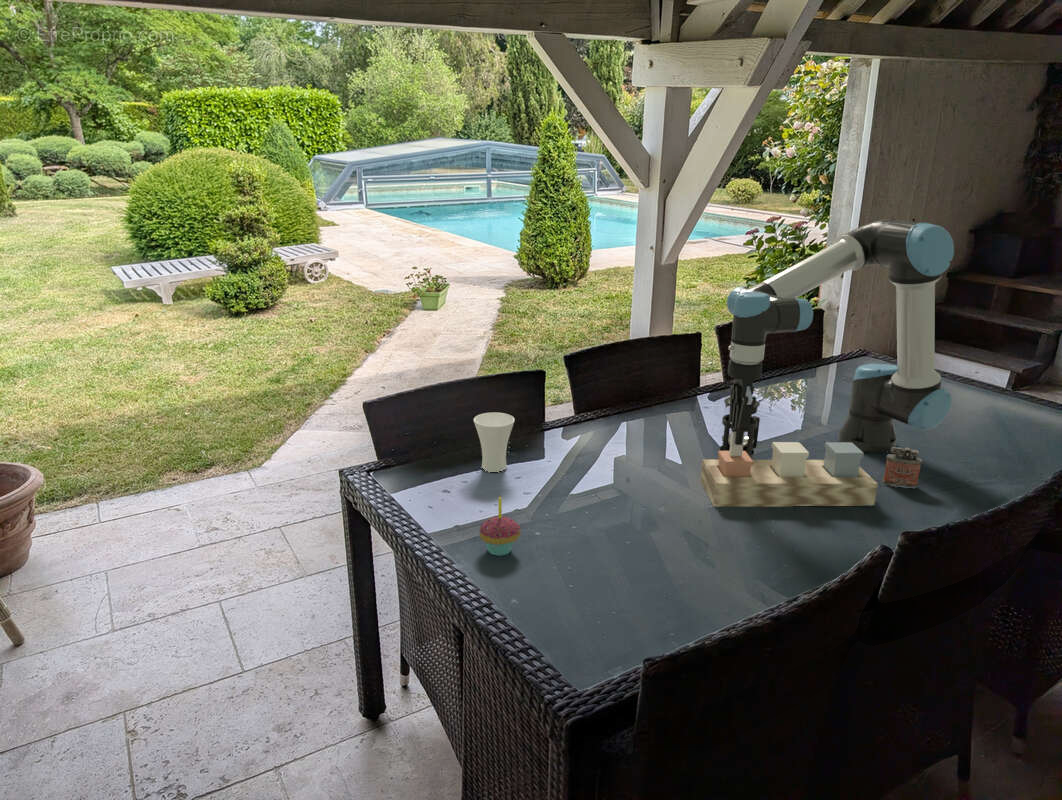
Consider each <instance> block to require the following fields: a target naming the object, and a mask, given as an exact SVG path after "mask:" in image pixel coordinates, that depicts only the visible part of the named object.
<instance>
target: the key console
mask: <svg viewBox="0 0 1062 800" xmlns="http://www.w3.org/2000/svg"><path fill="white" fill-rule="evenodd" d="M752 461H753V466H751V471H750V477H723V475H722V474H721V472H720V470H719V469H718V464H719V460H718V459H702V460H701V469H700V471H701V472H700V479H699V480H700V481H699V482H700V484H701V485H702V487H703V489H704V491H705V493H706V494H707V496H708V498H709V500H710V501H711V503H712V505H713V507H715V508H717V507H718V508H719V507H720V508H721V507H724V508H726V507H730V508H733V507H734V508H736V507H737V508H739V507H740V508H741V507H743V508H745V507H746V508H749V507H750V508H751V507H752V508H753V507H754V508H755V507H756V508H757V507H758V508H760V507H762V508H763V507H767V508H771V507H772V508H774V507H775V508H776V507H777V508H780V507H781V508H784V507H785V508H789V507H791V508H794V507H793V506H860V505H874V506H875V503H876V497H877V490H878V486H879V485H878V484H879V483H878V482H877V481H876V480H874V479H873V477H871V475H869V474H868V473H867V472H866V471H865V470H864V469H863V468H862V467H861V466H860V467H859V473H858V477H832V476H831V475H830V474H829V473H828V471H827V470H826V469H825V468H824V467H823V465H824V459H806V466H805V473H804V477H779V476H778V475H777V474H776V473H775V471H774V470H773V469H772V468H771V462H772V459H753V460H752Z"/></svg>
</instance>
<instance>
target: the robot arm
mask: <svg viewBox="0 0 1062 800" xmlns="http://www.w3.org/2000/svg"><path fill="white" fill-rule="evenodd" d="M954 245H955V244H954V240H953V238H952V236H951V234H950V232H949V231H948V230H946V229H945V228H944V227H943V226H942V225H941V226H940V225H937V224H932V223H930V222H921V221H920V222H918V221H908V220H900V219H895V218H885V219H880V220H875V221H872V222H869V223H866V224H864V225H860V226H858V227H857V228H854V229H851V230H849V231H848V232H846V233H844V234H842V235H840V236H839V237H838V238H837V239H836V241H835V243H834V244H832V245H830V246H828V247H826V248H824V249H822V250H819V251H818V252H817V253H814V254H813V255H811V256H809V257H807V258H805V259H803V260H801V261H800V262H798V263H795V264H793V265H791V266H790V267H788V268H786V269H784V270H783V271H780V272H779V273H777V274H775V275H773V276H771V277H769V278H766V279H765V280H763V281H762V282H759V283H758V284H756V285H755V284H754V286H751V287H749V286H737V287H735V288H733V289H732V290H731V291H730V293H729V294H728V296H727V298H726V305H727V310H728V312H729V313H730V314H731V315H732V326H731V327H732V328H731V340H730V345H729V346H728V348H727V350H728V351H729V358H730V359H729V360H728V366H727V374H728V376H729V377H730V378H731V379H733V381H732V380H731V381H730V382H729V391H730V392H729V393H730V395H729V397H730V406H729V414H730V417H729V422H730V423H731V427H732V428H730V431H731V433H730V434H731V440H730V450H729V455H730V456H742V452H743V443H744V435H746V434H745V433H748V431H749V426H750V421H751V417H752V415H753V414H752V412H753V407H754V404H755V402H756V401H757V397H756V396H753V394H754V391H755V389H754V388H755V387H754V386H753V385H754V383H753V382H755V381H756V380H759V379H760V378H762V371H763V362H762V361H763V360H764V358H765V348H766V340H767V335H768V334H779V333H795V332H798V331H804V330H806V329H808V328H809V327H810V326H811V325H812V322H813V318H814V309H813V307H812V304H811V303H810V301H809V300H808V299H805V298H802V297H801V298H799V297H800V296H803V295H805V294H807V293H808V292H810V291H812V290H814V289H816V288H817V287H819V286H822V285H823V284H825V283H827V282H828V281H831V280H833V279H834V278H837V277H838V276H841V275H842V274H844V273H846V272H848V271H858V270H860V269H862V268H864V267H868V266H880V267H883V268H888V280H889V282H890V283H892V285H894V286H895V292H896V293H895V298H896V301H895V303H896V305H895V306H896V309H895V310H896V356H897V357H896V358H897V361H896V362H897V364H895V365H894V364H887V363H868V364H862V365H859V366H858V367H856V369H855V373H854V376H853V377H854V378H853V379H852V380H853V381H852V388H851V395H850V396H851V397H850V400H849V401H850V402H849V409H848V410H849V411H848V415H847V416H846V418H845V420H844V422H843V424H842V426H841V428H840V429H839V431H838V437H837V440H838V442H852V443H853V444H854V445H855V446H856V447H858V448H859V449H860V450H861V451H862V452H863V453H873V454H883V453H882V452H885V453H888V452H887V451H890V452H891V448H892V447H896V446H897V437H896V431H895V425H894V420H896V421H898V422H900V423H903V424H905V425H908V426H909V427H911V428H914V429H915V428H916V429H919V430H923V431H927V430H931V429H934V428H935V427H937V426H939V425H940V424H941V423H942V422H943V421H944V420H945V418H946V417H947V416H948V414H949V412H950V409H951V406H952V402H953V401H952V399H953V397H952V394H951V393H950V392H949V391H948V390H947V389H944V388H942V376H941V374H940V373H939V372H938V371H936V370H935V357H936V356H935V354H936V353H935V352H936V351H935V348H936V347H935V346H936V345H935V340H936V339H935V337H936V335H935V333H936V332H935V331H936V330H935V329H936V326H935V325H936V323H935V321H936V320H935V319H936V317H935V316H936V315H935V313H936V311H935V309H936V307H935V305H936V303H935V302H936V299H935V298H936V293H935V292H936V289H935V288H936V283H937V282H938V281H939V280H940V279H942V277H943V273H944V272H945V271H947V270H948V268H949V267H950V265H951V263H950V262H951V261H953V258H954V255H955V254H954V253H955V246H954Z"/></svg>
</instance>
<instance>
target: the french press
mask: <svg viewBox="0 0 1062 800" xmlns="http://www.w3.org/2000/svg"><path fill="white" fill-rule="evenodd" d="M724 404H725V408H729V407H730V396H729V397H726V398H725V399H724ZM758 407H760V402H759V401H758V400H756V402H755V404H754V407H753V412H752V415H753V416H751V421H750V426H749V431H748V432H747V434H744V443H743V451H746V453H747V454H748V455H749V457H750V458H751V459H752V460H754V455H755V449H757V445H758V438H759V437H758V436H759V429H760V421H761V418H760V417H759V416H756V415H755V414H757V412H758ZM729 417H730V413H729V414H725V415H723V416H722V421H721V424H722V425H723V426H724V429H723V435H722V436H721V440H722V445H720V446H719V450H718V451H729V450H730V440H731V433H730V431H731V428H732V427H731V423H730V422H729ZM717 460H719V456H718V455H717Z"/></svg>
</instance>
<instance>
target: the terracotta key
mask: <svg viewBox="0 0 1062 800" xmlns="http://www.w3.org/2000/svg"><path fill="white" fill-rule="evenodd" d="M718 456H719V464H718V469H719V470H720V472H721V474H722V475H723V477H750V471H751V466H753V461H752V459H751V458H750V457H749V455H748V454H747V453H746V451H743V452H742V456H730V455H729V451H719V450H718V452H717V457H718Z"/></svg>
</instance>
